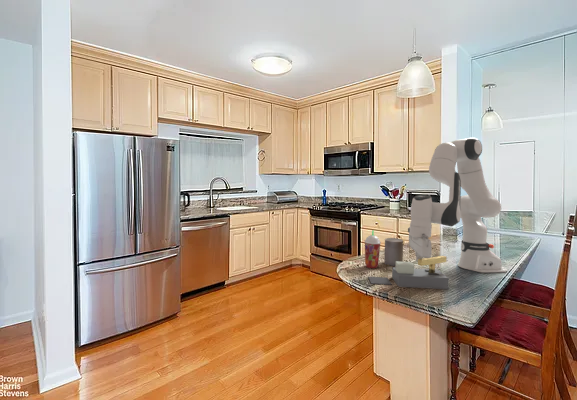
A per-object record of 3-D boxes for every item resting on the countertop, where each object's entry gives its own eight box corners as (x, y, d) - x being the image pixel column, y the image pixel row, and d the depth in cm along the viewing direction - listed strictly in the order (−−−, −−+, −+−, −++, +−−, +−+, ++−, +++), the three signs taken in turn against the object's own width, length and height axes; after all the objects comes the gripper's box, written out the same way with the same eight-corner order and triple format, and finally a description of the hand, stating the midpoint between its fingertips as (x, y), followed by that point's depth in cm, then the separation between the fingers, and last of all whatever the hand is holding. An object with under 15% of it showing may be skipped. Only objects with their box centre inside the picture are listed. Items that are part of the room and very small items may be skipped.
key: (441, 269, 142) (442, 255, 141) (446, 271, 140) (447, 256, 139) (416, 273, 135) (417, 259, 135) (421, 275, 133) (422, 260, 133)
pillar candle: (399, 261, 173) (400, 235, 172) (404, 266, 163) (405, 239, 162) (382, 261, 174) (383, 235, 173) (386, 266, 164) (386, 238, 163)
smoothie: (380, 265, 165) (381, 229, 163) (379, 270, 157) (380, 232, 155) (364, 263, 168) (365, 228, 166) (362, 268, 160) (364, 230, 158)
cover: (410, 270, 141) (411, 262, 141) (414, 273, 136) (414, 265, 136) (395, 269, 142) (395, 261, 141) (398, 273, 137) (398, 264, 136)
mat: (387, 278, 144) (387, 277, 144) (391, 285, 135) (391, 284, 135) (368, 277, 145) (368, 276, 145) (371, 284, 136) (371, 283, 136)
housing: (437, 279, 143) (438, 268, 143) (448, 289, 132) (448, 276, 131) (392, 277, 146) (392, 266, 145) (398, 286, 134) (398, 274, 133)
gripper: (436, 237, 124) (434, 269, 125) (420, 228, 144) (419, 256, 145) (420, 236, 125) (418, 269, 126) (406, 227, 145) (405, 255, 146)
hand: (418, 262), depth 136 cm, fingers closed, pressing on key
